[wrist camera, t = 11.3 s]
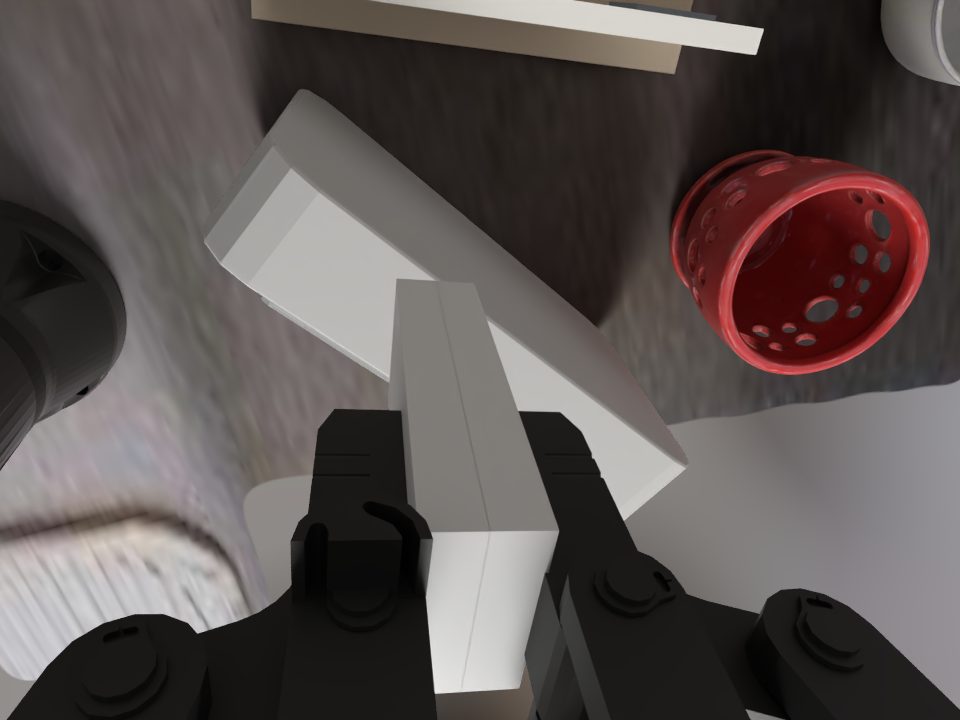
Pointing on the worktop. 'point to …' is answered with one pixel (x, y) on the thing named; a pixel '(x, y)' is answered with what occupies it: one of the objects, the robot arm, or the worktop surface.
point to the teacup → (924, 36)
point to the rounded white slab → (422, 256)
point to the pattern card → (532, 26)
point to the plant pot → (797, 256)
